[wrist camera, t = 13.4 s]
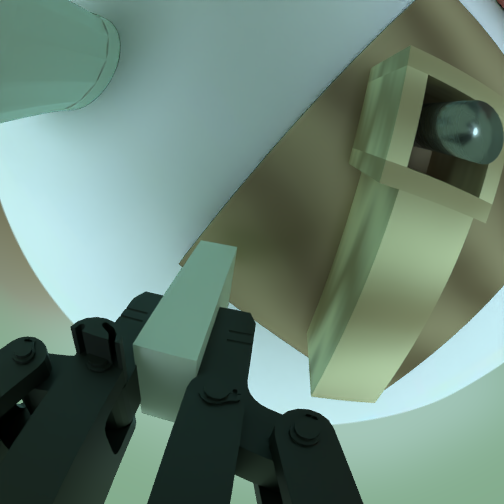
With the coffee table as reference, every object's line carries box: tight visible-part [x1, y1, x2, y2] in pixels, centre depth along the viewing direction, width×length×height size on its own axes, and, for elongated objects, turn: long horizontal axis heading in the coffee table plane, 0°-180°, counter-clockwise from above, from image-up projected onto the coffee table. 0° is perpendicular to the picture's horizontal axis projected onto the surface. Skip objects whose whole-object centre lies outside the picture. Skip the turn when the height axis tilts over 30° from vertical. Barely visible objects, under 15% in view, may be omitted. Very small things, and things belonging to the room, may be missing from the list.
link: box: [307, 45, 504, 403], centre depth 12 cm, size 15×5×5 cm, turn 168°
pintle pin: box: [413, 100, 504, 164], centre depth 10 cm, size 2×2×6 cm
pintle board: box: [179, 0, 504, 390], centre depth 15 cm, size 22×17×1 cm
